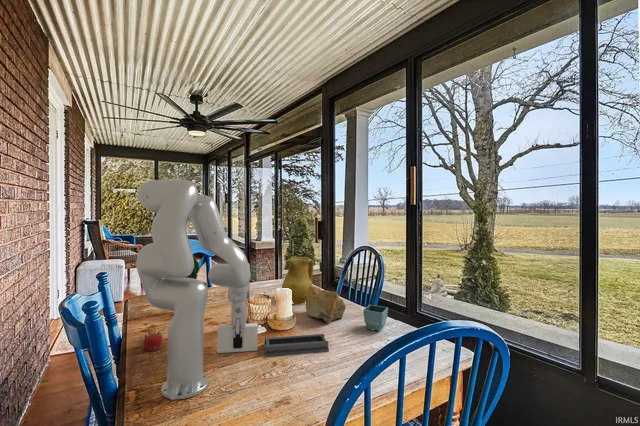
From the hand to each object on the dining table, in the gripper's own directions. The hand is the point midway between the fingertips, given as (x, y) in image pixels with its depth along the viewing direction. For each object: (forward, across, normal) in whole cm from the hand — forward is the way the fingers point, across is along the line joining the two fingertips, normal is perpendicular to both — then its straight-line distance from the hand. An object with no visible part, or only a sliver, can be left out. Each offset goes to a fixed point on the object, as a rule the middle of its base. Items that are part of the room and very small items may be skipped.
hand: (237, 345), depth 116 cm
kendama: (+2, +12, +32) cm, 34 cm away
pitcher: (+1, +57, -31) cm, 65 cm away
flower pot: (+2, +11, -58) cm, 59 cm away
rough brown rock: (+2, +28, -41) cm, 50 cm away
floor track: (+2, -2, -21) cm, 21 cm away
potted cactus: (+2, +42, +24) cm, 49 cm away
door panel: (+2, 0, 0) cm, 2 cm away
